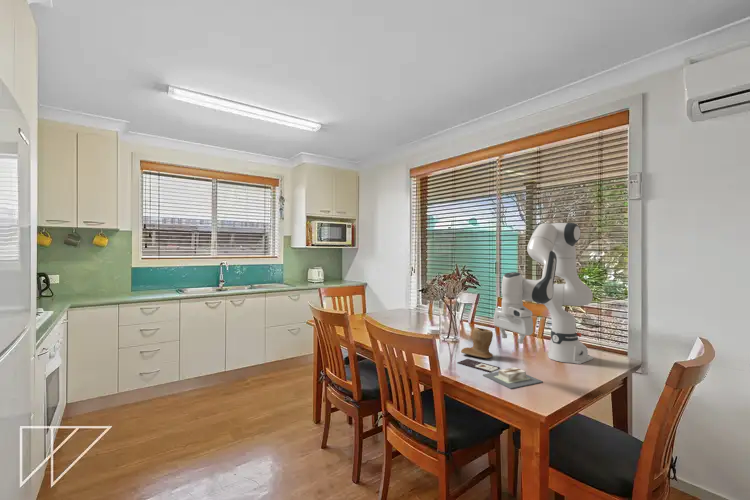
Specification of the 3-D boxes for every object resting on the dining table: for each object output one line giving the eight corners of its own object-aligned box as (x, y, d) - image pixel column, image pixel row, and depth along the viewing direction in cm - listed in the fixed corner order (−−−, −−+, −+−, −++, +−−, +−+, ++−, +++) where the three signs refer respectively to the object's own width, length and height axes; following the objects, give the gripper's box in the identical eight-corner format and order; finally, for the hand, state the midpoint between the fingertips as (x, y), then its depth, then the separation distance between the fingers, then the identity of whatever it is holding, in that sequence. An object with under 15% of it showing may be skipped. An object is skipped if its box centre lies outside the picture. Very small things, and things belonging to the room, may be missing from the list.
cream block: (508, 381, 155) (508, 374, 155) (498, 376, 160) (498, 369, 160) (526, 378, 159) (526, 371, 159) (515, 373, 164) (515, 366, 164)
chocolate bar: (467, 358, 187) (499, 367, 174) (467, 360, 187) (499, 369, 174) (457, 362, 181) (489, 371, 168) (457, 364, 181) (489, 373, 168)
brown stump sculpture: (497, 356, 192) (497, 328, 192) (486, 361, 184) (486, 332, 184) (471, 350, 203) (471, 324, 203) (460, 355, 194) (460, 327, 194)
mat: (513, 370, 171) (513, 368, 171) (542, 382, 155) (542, 381, 155) (482, 375, 164) (482, 374, 164) (510, 389, 148) (510, 387, 148)
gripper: (490, 306, 168) (490, 335, 168) (524, 314, 149) (524, 347, 149) (500, 305, 170) (500, 334, 170) (535, 312, 151) (535, 345, 152)
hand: (512, 340), depth 160 cm, fingers open, 8 cm apart
